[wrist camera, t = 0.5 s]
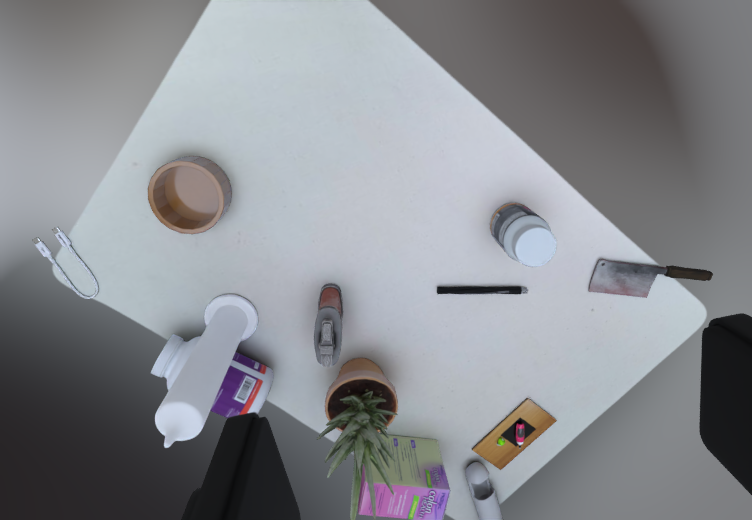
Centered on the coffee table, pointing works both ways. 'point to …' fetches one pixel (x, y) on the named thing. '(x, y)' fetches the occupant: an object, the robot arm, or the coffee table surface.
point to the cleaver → (636, 277)
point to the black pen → (481, 290)
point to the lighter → (328, 325)
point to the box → (408, 481)
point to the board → (514, 434)
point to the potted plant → (361, 422)
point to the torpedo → (483, 492)
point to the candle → (205, 368)
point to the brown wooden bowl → (189, 194)
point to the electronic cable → (66, 243)
